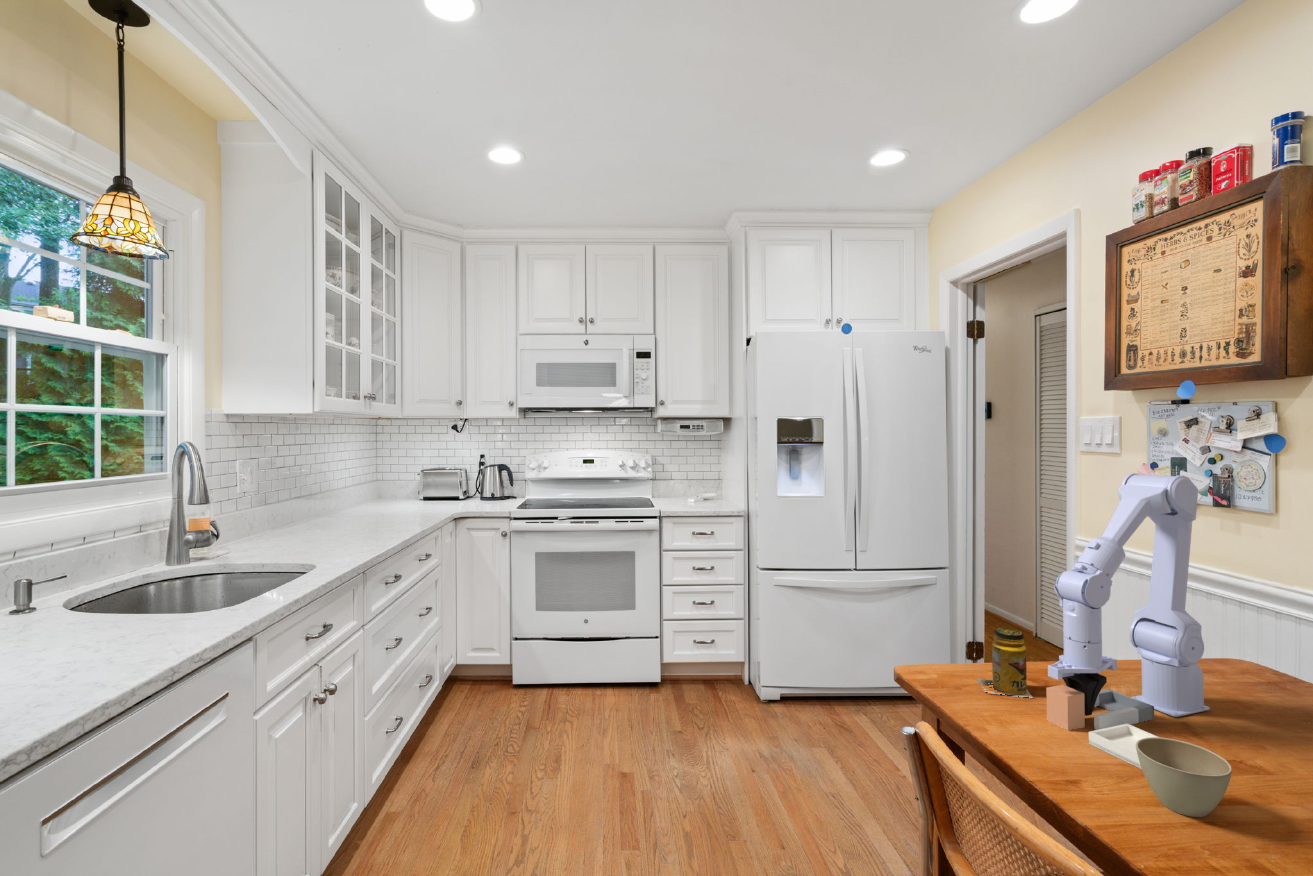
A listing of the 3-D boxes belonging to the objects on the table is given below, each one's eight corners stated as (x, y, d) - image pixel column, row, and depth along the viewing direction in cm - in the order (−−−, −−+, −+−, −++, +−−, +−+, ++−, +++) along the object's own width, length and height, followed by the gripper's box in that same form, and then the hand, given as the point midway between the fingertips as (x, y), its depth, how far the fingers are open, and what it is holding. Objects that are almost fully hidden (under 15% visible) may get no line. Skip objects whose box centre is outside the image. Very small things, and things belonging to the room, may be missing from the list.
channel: (1093, 704, 114) (1093, 691, 114) (1138, 722, 107) (1138, 709, 107) (1056, 711, 112) (1056, 698, 112) (1099, 731, 104) (1099, 717, 104)
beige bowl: (1118, 788, 87) (1117, 739, 87) (1181, 783, 88) (1180, 735, 88) (1184, 832, 77) (1183, 777, 77) (1254, 827, 78) (1253, 772, 78)
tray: (1127, 735, 102) (1127, 723, 102) (1187, 761, 94) (1187, 749, 94) (1088, 743, 100) (1088, 731, 100) (1147, 772, 91) (1147, 759, 91)
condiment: (1033, 699, 117) (1032, 638, 117) (985, 694, 120) (984, 634, 120) (1022, 684, 124) (1021, 626, 124) (977, 680, 127) (976, 623, 127)
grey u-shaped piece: (1109, 701, 116) (1108, 688, 116) (1154, 719, 108) (1154, 706, 108) (1093, 704, 114) (1093, 691, 114) (1138, 722, 107) (1138, 709, 107)
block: (1063, 717, 109) (1062, 684, 109) (1084, 727, 106) (1084, 693, 106) (1046, 720, 108) (1046, 687, 108) (1068, 730, 104) (1067, 696, 104)
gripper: (1089, 627, 114) (1091, 698, 114) (1032, 635, 110) (1033, 709, 110) (1128, 639, 108) (1129, 714, 107) (1068, 648, 103) (1070, 726, 103)
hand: (1083, 713), depth 108 cm, fingers closed
